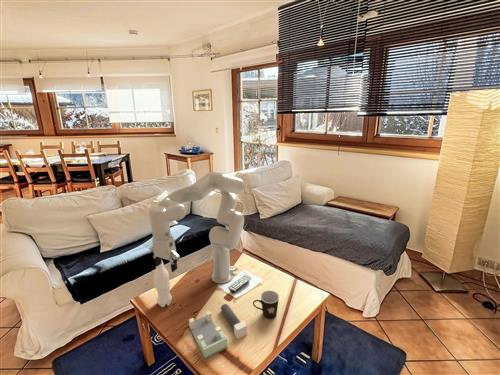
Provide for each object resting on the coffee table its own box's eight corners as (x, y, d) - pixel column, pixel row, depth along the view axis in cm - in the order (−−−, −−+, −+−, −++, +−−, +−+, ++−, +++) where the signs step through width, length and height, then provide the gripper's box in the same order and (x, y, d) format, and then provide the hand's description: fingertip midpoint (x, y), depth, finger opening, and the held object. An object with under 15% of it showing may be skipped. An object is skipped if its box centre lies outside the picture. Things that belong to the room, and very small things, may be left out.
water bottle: (159, 310, 132) (152, 266, 124) (156, 301, 138) (150, 259, 130) (173, 305, 135) (168, 262, 127) (170, 296, 141) (165, 255, 134)
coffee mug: (280, 309, 131) (280, 292, 128) (276, 322, 123) (276, 305, 120) (257, 304, 135) (257, 287, 131) (252, 316, 127) (252, 299, 124)
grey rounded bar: (219, 311, 131) (218, 303, 129) (227, 307, 133) (227, 299, 132) (237, 339, 115) (237, 330, 114) (247, 334, 118) (246, 325, 116)
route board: (208, 316, 128) (208, 307, 126) (227, 347, 111) (226, 338, 110) (188, 325, 123) (187, 316, 121) (204, 359, 106) (203, 349, 105)
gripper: (182, 234, 117) (186, 268, 122) (154, 227, 125) (158, 258, 130) (170, 242, 111) (175, 277, 116) (141, 233, 119) (146, 267, 124)
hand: (166, 267), depth 123 cm, fingers open, 9 cm apart
